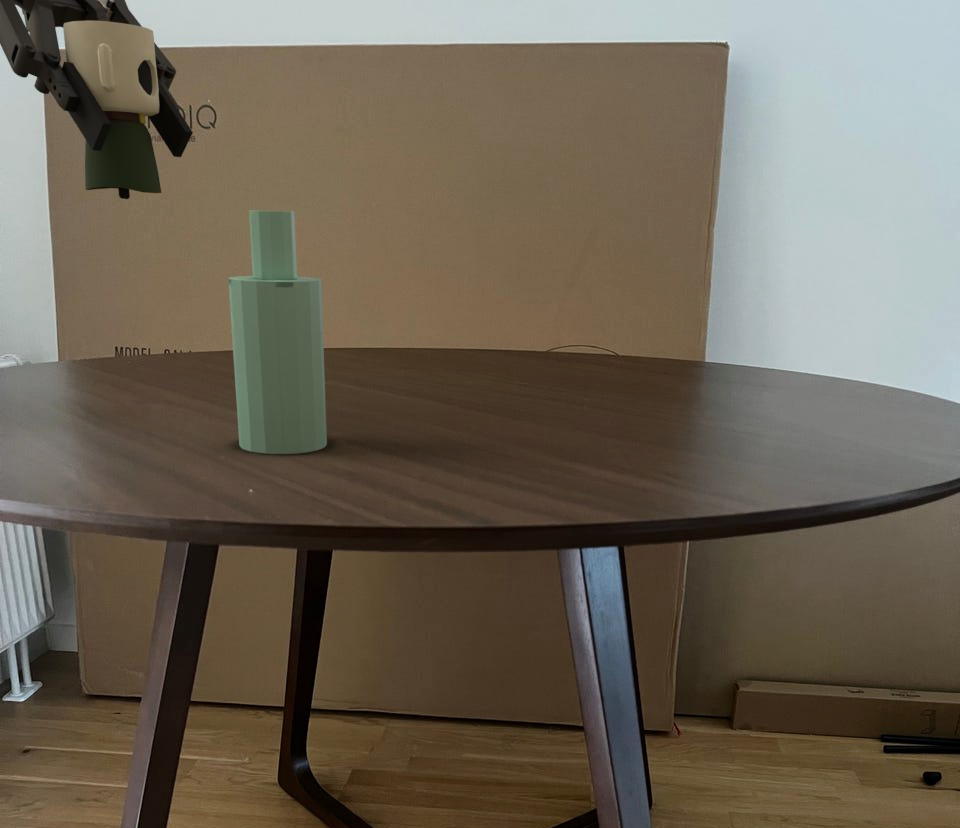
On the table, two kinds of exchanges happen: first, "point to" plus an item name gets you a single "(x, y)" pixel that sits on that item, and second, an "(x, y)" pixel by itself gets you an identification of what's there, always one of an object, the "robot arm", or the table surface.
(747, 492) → the table surface
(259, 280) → the bottle
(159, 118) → the robot arm
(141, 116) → the character mug
